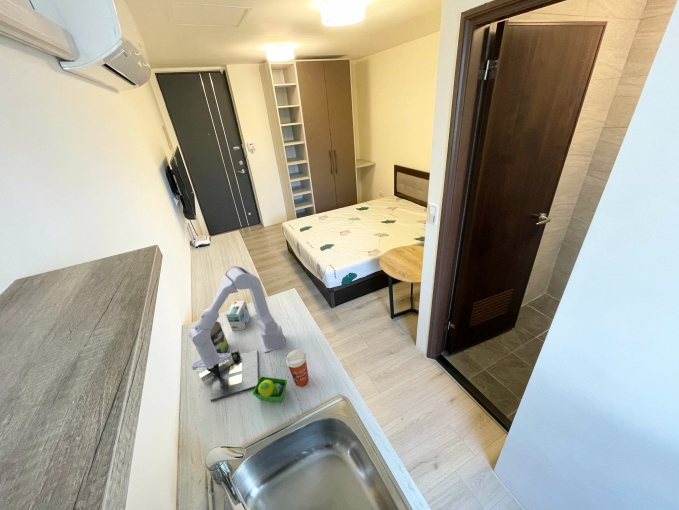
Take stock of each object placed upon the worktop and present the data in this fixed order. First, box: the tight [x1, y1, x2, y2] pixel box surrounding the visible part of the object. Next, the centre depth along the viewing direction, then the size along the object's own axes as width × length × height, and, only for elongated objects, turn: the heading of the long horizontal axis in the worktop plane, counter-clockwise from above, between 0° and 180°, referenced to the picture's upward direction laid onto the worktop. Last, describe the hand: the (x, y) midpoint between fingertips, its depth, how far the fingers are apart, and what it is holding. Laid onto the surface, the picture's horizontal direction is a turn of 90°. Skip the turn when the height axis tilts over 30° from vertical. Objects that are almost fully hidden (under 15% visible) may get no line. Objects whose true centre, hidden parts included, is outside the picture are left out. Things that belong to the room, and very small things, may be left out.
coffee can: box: [210, 320, 231, 354], centre depth 124 cm, size 10×10×14 cm
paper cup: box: [285, 348, 309, 388], centre depth 106 cm, size 8×8×14 cm
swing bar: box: [198, 354, 239, 383], centre depth 115 cm, size 2×16×3 cm, turn 130°
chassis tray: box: [209, 348, 259, 402], centre depth 114 cm, size 18×19×5 cm
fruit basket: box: [252, 376, 288, 404], centre depth 102 cm, size 11×9×11 cm
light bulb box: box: [225, 300, 251, 331], centre depth 140 cm, size 11×7×11 cm, turn 179°
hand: (218, 374), depth 113 cm, fingers closed
